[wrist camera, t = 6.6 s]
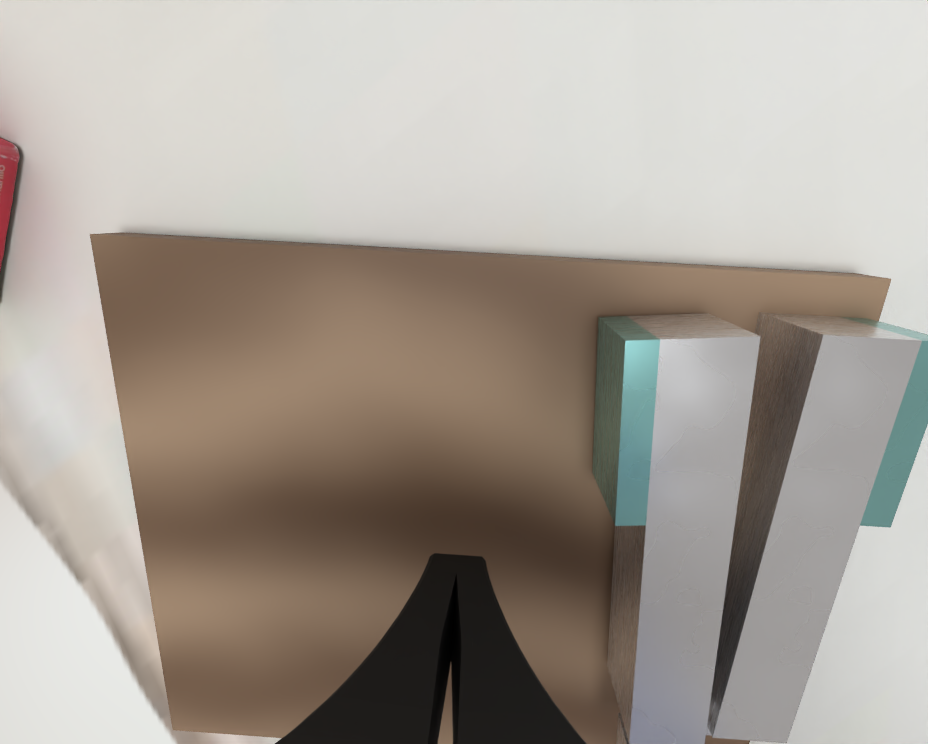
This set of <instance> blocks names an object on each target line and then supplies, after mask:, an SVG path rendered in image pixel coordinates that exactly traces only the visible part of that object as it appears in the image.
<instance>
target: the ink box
mask: <svg viewBox="0 0 928 744" xmlns="http://www.w3.org/2000/svg"><path fill="white" fill-rule="evenodd" d="M19 157H20V156H19V151H18V148H17V147H16V146H15V145H14V144H13V143H11V142H8V141H6V140H4V139H2V138H0V271H1V264H2V260H3V256H4V249H5V241H6V234H7V229H8V224H9V218H10V211H11V206H12V203H13V192H14V187H15V180H16V174H17V168H18V162H19Z"/></svg>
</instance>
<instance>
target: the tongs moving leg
mask: <svg viewBox="0 0 928 744" xmlns="http://www.w3.org/2000/svg"><path fill="white" fill-rule="evenodd" d="M760 337H761V336H759V335H757V334H754V333H752V332H750V331H747V330H745V329H743V328H741V327H738V326H736V325H734V324H731V323H729V322H727V321H724V320H722V319H720V318H718V317H715V316H713V315H711V314H708V313H695V314H667V315H639V316H610V317H598V339H597V365H596V392H595V418H594V444H593V471H592V473H593V475H594V478H595V480H596V482H597V485H598V487H599V489H600V492H601V494H602V496H603V499H604V501H605V503H606V506H607V508H608V510H609V513H610V515H611V517H612V520H613V522H614V524H615V534H614V552H613V570H612V589H611V607H610V625H609V643H608V662H607V666H608V670H609V673H610V677H611V681H612V684H613V688H614V691H615V695H616V699H617V702H618V706H619V709H620V713H618V725H617V740H616V744H705V737H706V730H707V723H708V715H709V708H710V701H711V693H712V686H713V679H714V672H715V664H716V657H717V650H718V642H719V635H720V628H721V621H722V613H723V606H724V599H725V592H726V584H727V577H728V570H729V562H730V555H731V548H732V541H733V533H734V526H735V519H736V511H737V504H738V497H739V490H740V482H741V475H742V468H743V461H744V453H745V446H746V439H747V431H748V424H749V417H750V410H751V402H752V395H753V388H754V380H755V373H756V366H757V359H758V351H759V344H760Z"/></svg>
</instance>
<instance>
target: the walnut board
mask: <svg viewBox="0 0 928 744" xmlns="http://www.w3.org/2000/svg"><path fill="white" fill-rule="evenodd" d="M90 238H91V244H92V250H93V256H94V262H95V268H96V274H97V280H98V286H99V292H100V298H101V304H102V310H103V316H104V322H105V328H106V334H107V340H108V346H109V352H110V358H111V363H112V369H113V375H114V381H115V387H116V393H117V399H118V405H119V411H120V417H121V423H122V429H123V435H124V441H125V447H126V453H127V459H128V465H129V471H130V477H131V483H132V489H133V495H134V501H135V507H136V513H137V519H138V525H139V531H140V537H141V543H142V549H143V555H144V561H145V567H146V573H147V578H148V584H149V590H150V596H151V602H152V608H153V614H154V620H155V626H156V632H157V638H158V644H159V650H160V656H161V662H162V668H163V674H164V680H165V686H166V692H167V698H168V704H169V710H170V716H171V722H172V728H173V730H179V731H193V732H207V733H220V734H234V735H248V736H262V737H276V738H283V737H284V736H286V735H287V734H288V733H289V732H291V731H292V730H293V729H294V728H295V727H297V726H298V725H299V724H300V723H301V722H302V721H303V720H305V719H306V718H307V717H308V716H309V715H310V714H311V713H312V712H313V711H315V710H316V709H317V708H318V707H319V706H320V705H321V704H322V703H324V702H325V701H326V700H327V699H328V698H329V697H330V696H331V695H332V694H333V693H334V692H335V691H336V690H337V689H338V688H339V687H340V686H341V685H342V684H343V683H344V682H345V681H346V680H347V679H348V677H349V676H350V675H351V674H352V673H353V672H354V671H355V670H356V669H357V668H358V667H359V666H360V664H361V663H362V662H363V661H364V660H365V659H366V657H367V656H368V655H369V654H370V653H371V651H372V650H373V649H374V648H375V647H376V645H377V644H378V643H379V641H380V640H381V639H382V638H383V636H384V635H385V633H386V632H387V631H388V629H389V628H390V626H391V625H392V623H393V622H394V621H395V619H396V618H397V616H398V615H399V614H400V612H401V610H402V609H403V607H404V606H405V604H406V602H407V601H408V599H409V597H410V596H411V594H412V592H413V591H414V589H415V587H416V585H417V584H418V582H419V580H420V578H421V576H422V574H423V572H424V570H425V567H426V565H427V563H428V560H429V557H430V556H431V555H432V554H434V553H440V554H455V555H469V556H482V557H483V558H484V559H485V560H486V566H487V570H488V574H489V578H490V581H491V584H492V587H493V590H494V592H495V595H496V598H497V600H498V603H499V605H500V607H501V610H502V612H503V614H504V617H505V619H506V621H507V623H508V625H509V628H510V630H511V632H512V634H513V636H514V638H515V640H516V641H517V643H518V645H519V647H520V649H521V651H522V653H523V654H524V656H525V658H526V660H527V661H528V663H529V665H530V667H531V668H532V670H533V671H534V673H535V675H536V676H537V678H538V679H539V681H540V683H541V684H542V685H543V687H544V688H545V690H546V691H547V693H548V694H549V696H550V697H551V699H552V700H553V702H554V703H555V704H556V706H557V707H558V708H559V709H560V711H561V712H562V713H563V715H564V716H565V717H566V719H567V720H568V721H569V722H570V724H571V725H572V726H573V728H574V729H575V730H576V732H577V733H578V734H579V735H580V737H581V738H582V739H583V740H584V741H585V742H586V744H616V740H617V725H618V713H620V709H619V706H618V702H617V699H616V695H615V691H614V688H613V684H612V681H611V677H610V673H609V670H608V666H607V662H608V643H609V625H610V607H611V589H612V570H613V552H614V534H615V524H614V522H613V520H612V517H611V515H610V513H609V510H608V508H607V506H606V503H605V501H604V499H603V496H602V494H601V492H600V489H599V487H598V485H597V482H596V480H595V478H594V475H593V473H592V471H593V444H594V418H595V392H596V365H597V339H598V317H610V316H639V315H667V314H695V313H708V314H711V315H713V316H715V317H718V318H720V319H722V320H724V321H727V322H729V323H731V324H734V325H736V326H738V327H741V328H743V329H745V330H747V331H750V332H752V333H754V332H755V328H756V324H757V319H758V315H759V312H765V313H782V314H800V315H817V316H835V317H852V318H868V319H871V320H875V321H879V318H880V315H881V311H882V308H883V305H884V302H885V298H886V295H887V292H888V289H889V285H890V282H891V279H888V278H882V277H875V276H869V275H863V274H856V273H838V272H820V271H802V270H784V269H766V268H748V267H730V266H712V265H694V264H676V263H658V262H640V261H622V260H604V259H586V258H569V257H551V256H533V255H515V254H497V253H479V252H461V251H443V250H425V249H407V248H389V247H371V246H353V245H335V244H317V243H299V242H281V241H263V240H245V239H227V238H210V237H192V236H174V235H156V234H138V233H105V234H90ZM749 742H750V740H737V739H723V738H712V736H711V735H706V737H705V744H749ZM438 744H453V726H452V679H451V665H450V671H449V677H448V683H447V689H446V695H445V702H444V708H443V714H442V720H441V726H440V732H439V738H438Z"/></svg>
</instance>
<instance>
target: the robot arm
mask: <svg viewBox="0 0 928 744" xmlns="http://www.w3.org/2000/svg"><path fill="white" fill-rule="evenodd" d="M450 665H451V679H452V726H453V744H586V742H585V741H584V740H583V739H582V738H581V737H580V735H579V734H578V733H577V732H576V730H575V729H574V728H573V726H572V725H571V724H570V722H569V721H568V720H567V719H566V717H565V716H564V715H563V713H562V712H561V711H560V709H559V708H558V707H557V706H556V704H555V703H554V702H553V700H552V699H551V697H550V696H549V694H548V693H547V691H546V690H545V688H544V687H543V685H542V684H541V683H540V681H539V679H538V678H537V676H536V675H535V673H534V671H533V670H532V668H531V667H530V665H529V663H528V661H527V660H526V658H525V656H524V654H523V653H522V651H521V649H520V647H519V645H518V643H517V641H516V640H515V638H514V636H513V634H512V632H511V630H510V628H509V625H508V623H507V621H506V619H505V617H504V614H503V612H502V610H501V607H500V605H499V603H498V600H497V598H496V595H495V592H494V590H493V587H492V584H491V581H490V578H489V574H488V570H487V566H486V560H485V559H484V558H483V557H482V556H469V555H455V554H440V553H434V554H432V555H431V556H430V557H429V560H428V563H427V565H426V567H425V570H424V572H423V574H422V576H421V578H420V580H419V582H418V584H417V585H416V587H415V589H414V591H413V592H412V594H411V596H410V597H409V599H408V601H407V602H406V604H405V606H404V607H403V609H402V610H401V612H400V614H399V615H398V616H397V618H396V619H395V621H394V622H393V623H392V625H391V626H390V628H389V629H388V631H387V632H386V633H385V635H384V636H383V638H382V639H381V640H380V641H379V643H378V644H377V645H376V647H375V648H374V649H373V650H372V651H371V653H370V654H369V655H368V656H367V657H366V659H365V660H364V661H363V662H362V663H361V664H360V666H359V667H358V668H357V669H356V670H355V671H354V672H353V673H352V674H351V675H350V676H349V677H348V679H347V680H346V681H345V682H344V683H343V684H342V685H341V686H340V687H339V688H338V689H337V690H336V691H335V692H334V693H333V694H332V695H331V696H330V697H329V698H328V699H327V700H326V701H325V702H324V703H322V704H321V705H320V706H319V707H318V708H317V709H316V710H315V711H313V712H312V713H311V714H310V715H309V716H308V717H307V718H306V719H305V720H303V721H302V722H301V723H300V724H299V725H298V726H297V727H295V728H294V729H293V730H292V731H291V732H289V733H288V734H287V735H286V736H284V737H283V738H282V739H280V740H279V741H278V742H276V743H275V744H438V738H439V732H440V726H441V720H442V714H443V708H444V702H445V695H446V689H447V683H448V677H449V671H450Z"/></svg>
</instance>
